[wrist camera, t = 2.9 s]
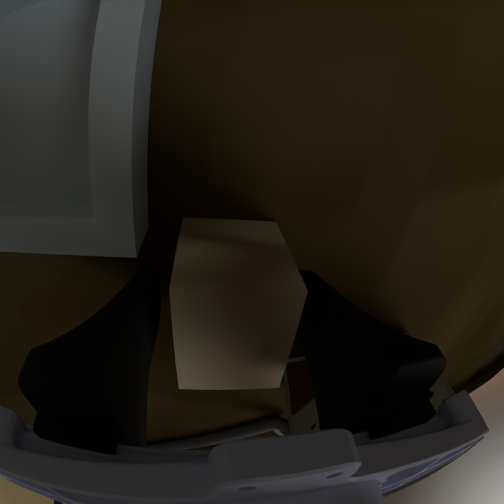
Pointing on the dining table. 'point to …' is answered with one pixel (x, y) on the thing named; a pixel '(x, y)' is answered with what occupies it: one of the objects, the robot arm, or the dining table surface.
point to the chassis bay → (75, 125)
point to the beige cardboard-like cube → (233, 304)
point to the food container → (305, 409)
